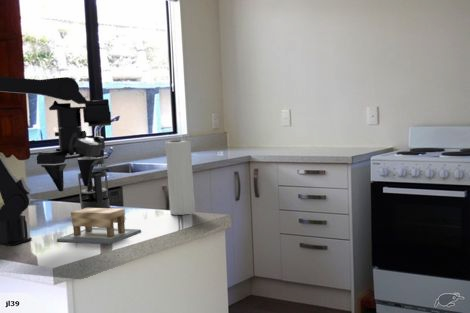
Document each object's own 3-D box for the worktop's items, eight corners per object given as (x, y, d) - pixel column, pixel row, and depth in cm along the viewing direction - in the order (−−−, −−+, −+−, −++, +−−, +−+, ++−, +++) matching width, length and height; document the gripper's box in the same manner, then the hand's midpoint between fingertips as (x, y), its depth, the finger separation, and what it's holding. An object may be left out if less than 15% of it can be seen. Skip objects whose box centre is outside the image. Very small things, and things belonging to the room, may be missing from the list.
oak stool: (72, 235, 148) (70, 212, 147) (88, 230, 153) (86, 207, 152) (111, 237, 142) (109, 213, 142) (126, 232, 148) (124, 208, 147)
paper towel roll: (167, 213, 174) (162, 141, 172) (187, 210, 176) (182, 139, 175) (175, 217, 168) (170, 142, 166) (195, 214, 170) (190, 140, 168)
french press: (76, 209, 191) (70, 139, 189) (104, 205, 196) (99, 136, 193) (86, 214, 181) (79, 140, 179) (115, 210, 185) (109, 137, 183)
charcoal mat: (109, 244, 138) (109, 241, 138) (57, 241, 145) (56, 238, 145) (141, 231, 150) (140, 229, 150) (91, 229, 157) (91, 227, 157)
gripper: (67, 128, 137) (72, 195, 138) (118, 125, 153) (122, 184, 155) (32, 130, 142) (37, 194, 143) (85, 126, 158) (89, 183, 160)
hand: (74, 188), depth 150 cm, fingers open, 9 cm apart
